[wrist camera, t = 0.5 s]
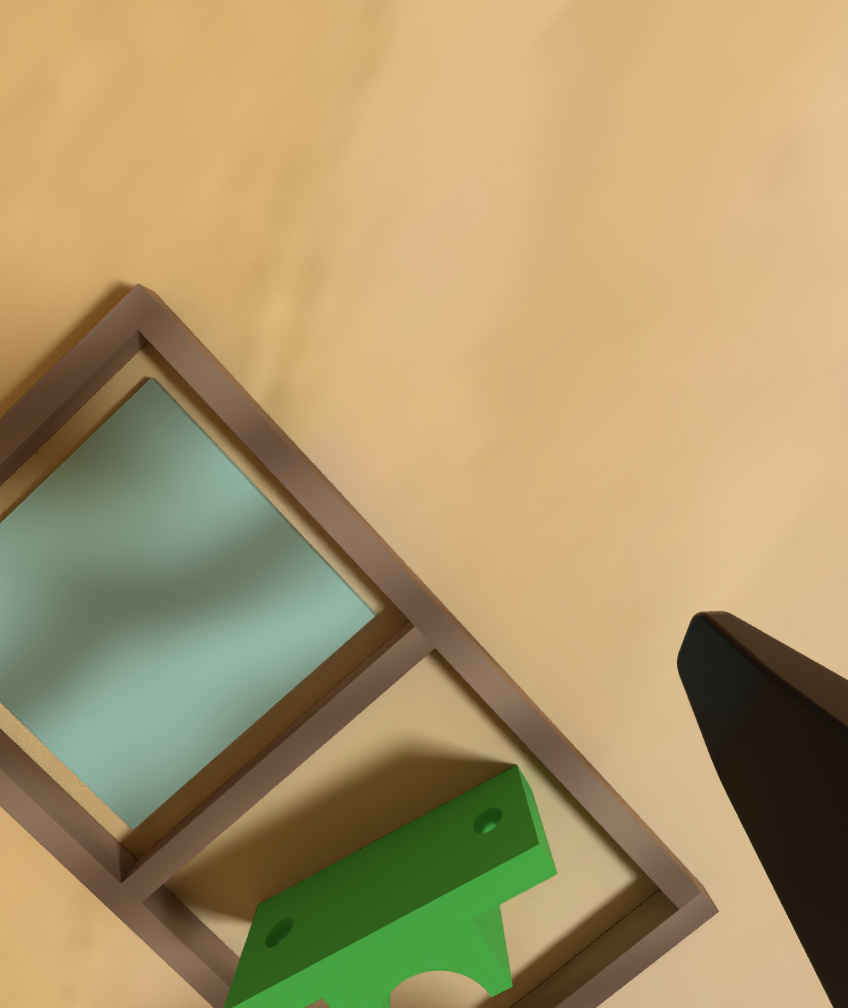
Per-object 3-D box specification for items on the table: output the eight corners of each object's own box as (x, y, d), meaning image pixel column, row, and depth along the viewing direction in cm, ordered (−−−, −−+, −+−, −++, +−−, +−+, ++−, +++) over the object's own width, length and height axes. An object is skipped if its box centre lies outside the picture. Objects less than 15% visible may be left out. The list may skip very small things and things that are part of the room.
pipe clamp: (311, 975, 24) (283, 1106, 19) (259, 899, 23) (219, 1014, 19) (566, 842, 23) (600, 945, 18) (517, 761, 23) (540, 846, 18)
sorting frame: (703, 886, 23) (719, 911, 22) (388, 1134, 24) (387, 1171, 23) (154, 291, 20) (138, 283, 19) (-166, 606, 22) (-201, 616, 20)
